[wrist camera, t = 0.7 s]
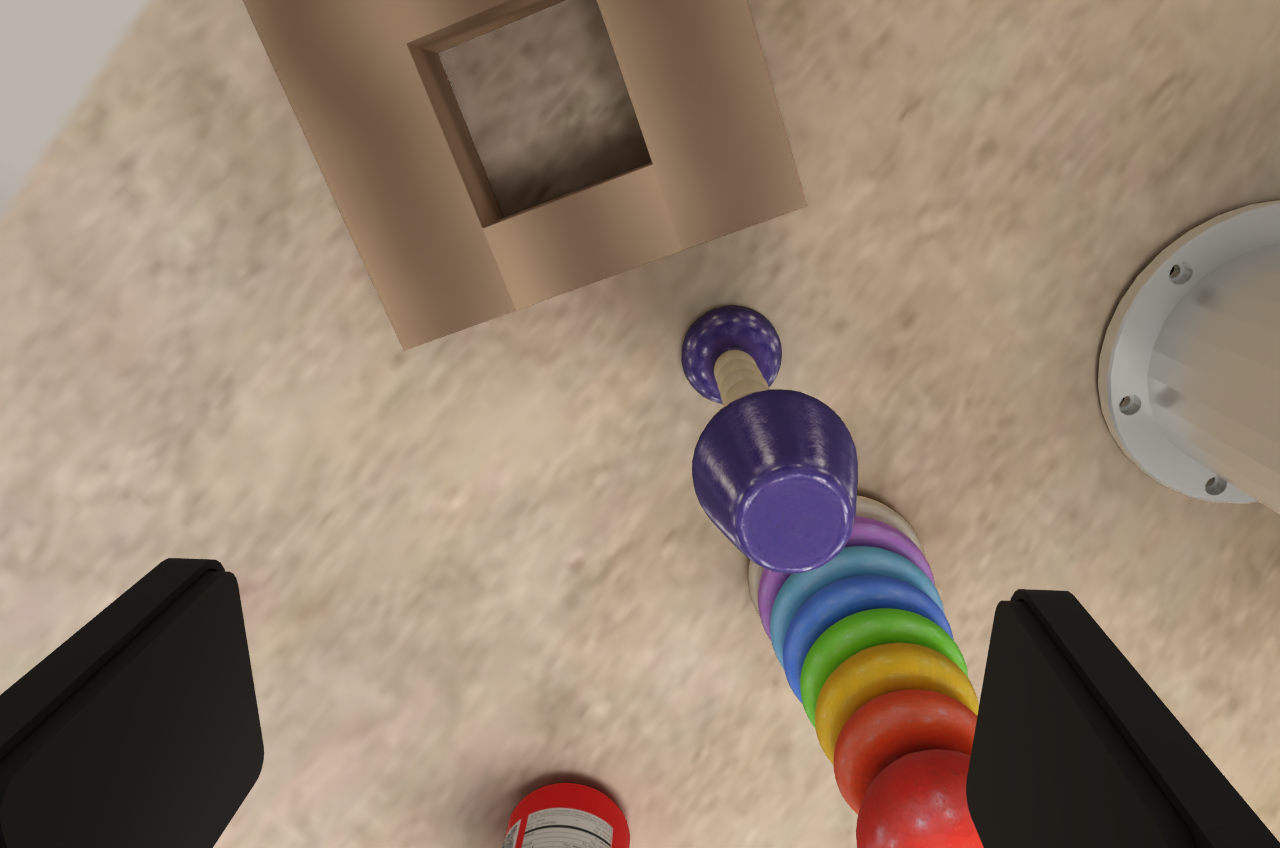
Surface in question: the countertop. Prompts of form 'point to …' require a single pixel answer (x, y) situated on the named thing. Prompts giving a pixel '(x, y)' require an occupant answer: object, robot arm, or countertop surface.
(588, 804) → the beverage can
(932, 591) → the stacking toy
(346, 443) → the countertop surface
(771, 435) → the toy lamp
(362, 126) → the brown flat frame block
